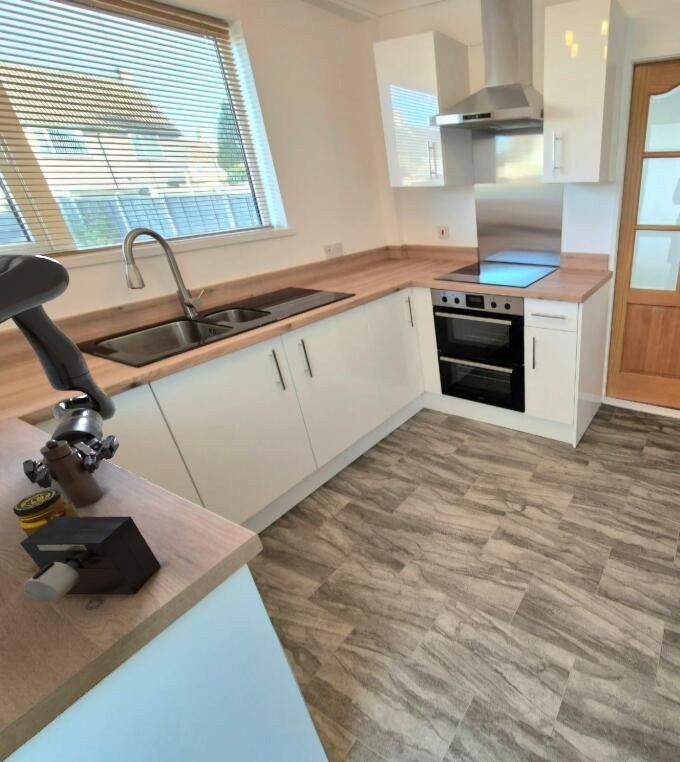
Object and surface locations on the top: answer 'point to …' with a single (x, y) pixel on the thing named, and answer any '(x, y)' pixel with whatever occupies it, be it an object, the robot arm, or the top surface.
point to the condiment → (42, 510)
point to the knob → (53, 581)
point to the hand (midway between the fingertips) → (67, 476)
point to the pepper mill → (70, 473)
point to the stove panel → (96, 552)
